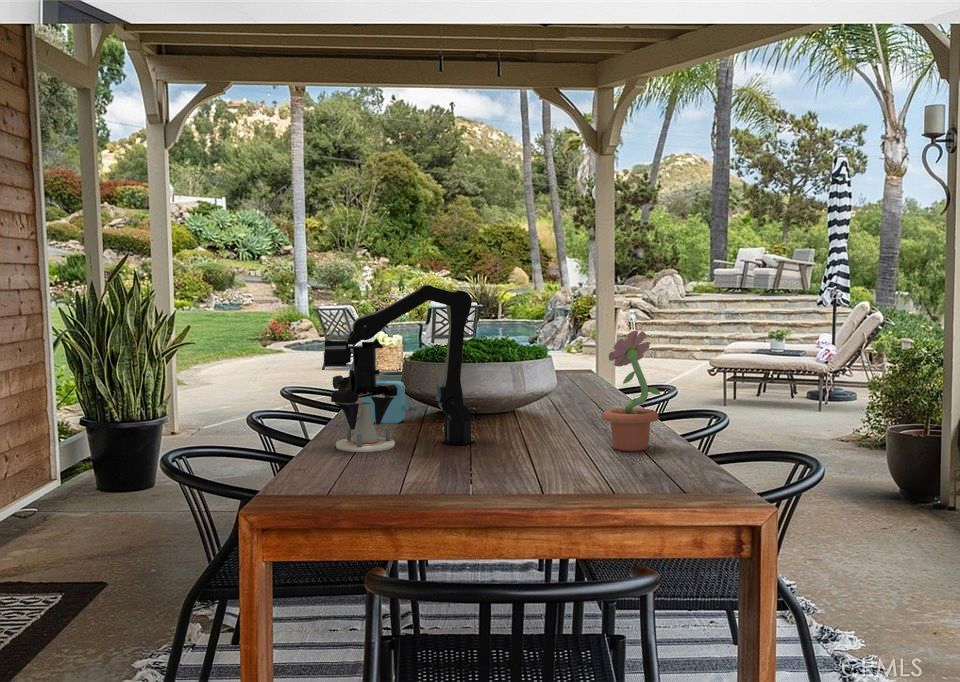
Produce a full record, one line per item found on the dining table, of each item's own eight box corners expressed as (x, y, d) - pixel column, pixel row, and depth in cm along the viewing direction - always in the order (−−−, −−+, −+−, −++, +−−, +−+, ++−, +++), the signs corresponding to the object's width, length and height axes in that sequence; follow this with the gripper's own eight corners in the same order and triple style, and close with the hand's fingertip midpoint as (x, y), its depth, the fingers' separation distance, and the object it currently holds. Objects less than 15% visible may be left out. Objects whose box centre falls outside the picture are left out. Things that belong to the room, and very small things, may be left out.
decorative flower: (639, 441, 239) (640, 327, 236) (673, 450, 227) (674, 330, 224) (591, 446, 232) (592, 329, 230) (624, 456, 220) (625, 332, 217)
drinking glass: (415, 408, 296) (415, 371, 295) (405, 413, 286) (405, 375, 285) (385, 407, 298) (385, 370, 297) (375, 412, 288) (374, 374, 287)
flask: (377, 444, 229) (376, 405, 229) (348, 444, 230) (348, 405, 229) (382, 439, 237) (381, 401, 236) (354, 439, 237) (353, 400, 236)
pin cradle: (407, 445, 235) (406, 429, 234) (365, 454, 223) (365, 438, 222) (365, 438, 244) (365, 423, 243) (323, 447, 232) (323, 431, 232)
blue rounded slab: (405, 421, 271) (405, 381, 270) (401, 423, 267) (401, 383, 266) (367, 419, 274) (366, 380, 273) (362, 422, 269) (361, 382, 268)
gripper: (367, 361, 244) (368, 418, 245) (315, 367, 229) (316, 428, 230) (398, 363, 237) (399, 423, 238) (346, 370, 222) (347, 433, 224)
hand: (365, 426), depth 233 cm, fingers open, 9 cm apart
